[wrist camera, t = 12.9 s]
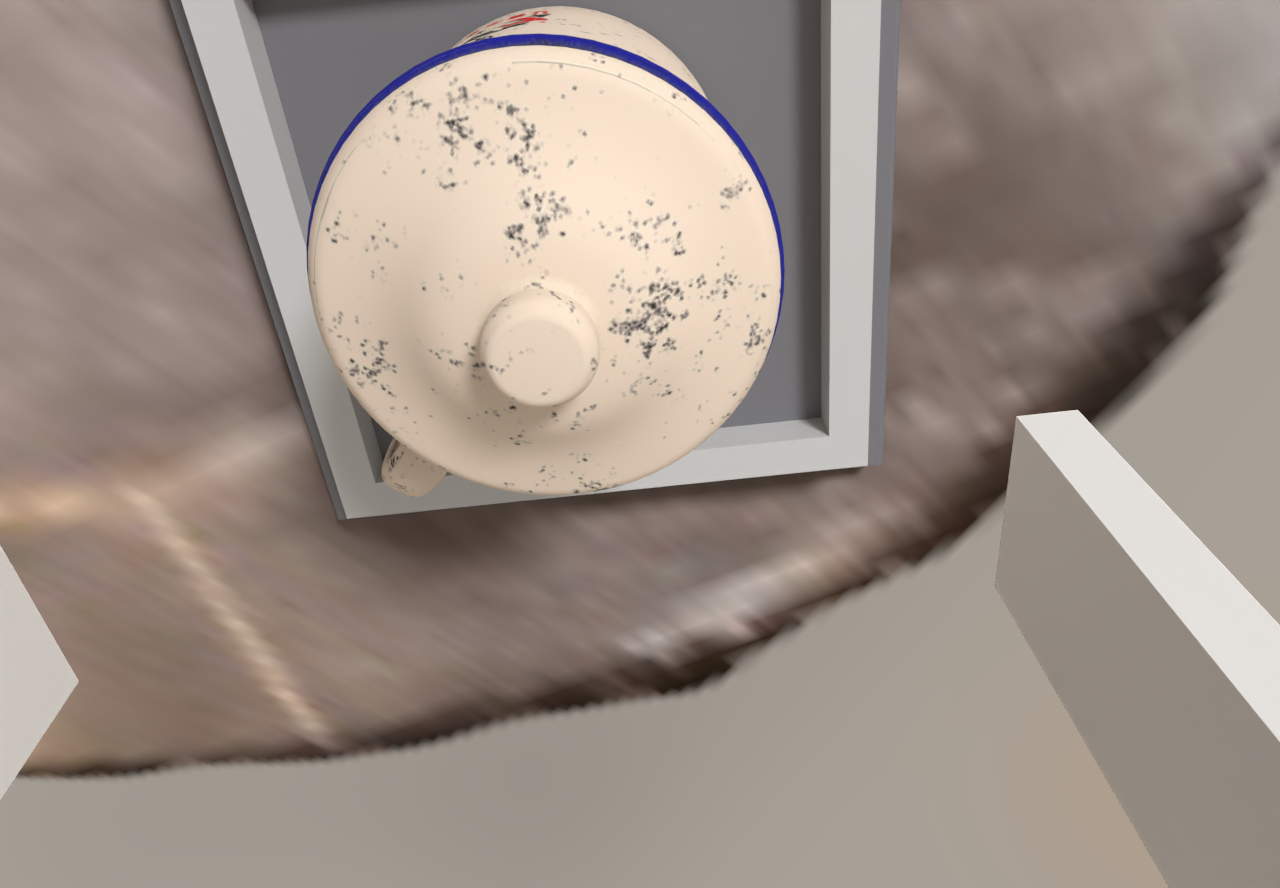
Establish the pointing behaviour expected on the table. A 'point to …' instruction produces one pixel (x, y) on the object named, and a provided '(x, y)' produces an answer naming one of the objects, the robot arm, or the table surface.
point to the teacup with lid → (544, 259)
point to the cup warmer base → (733, 83)
